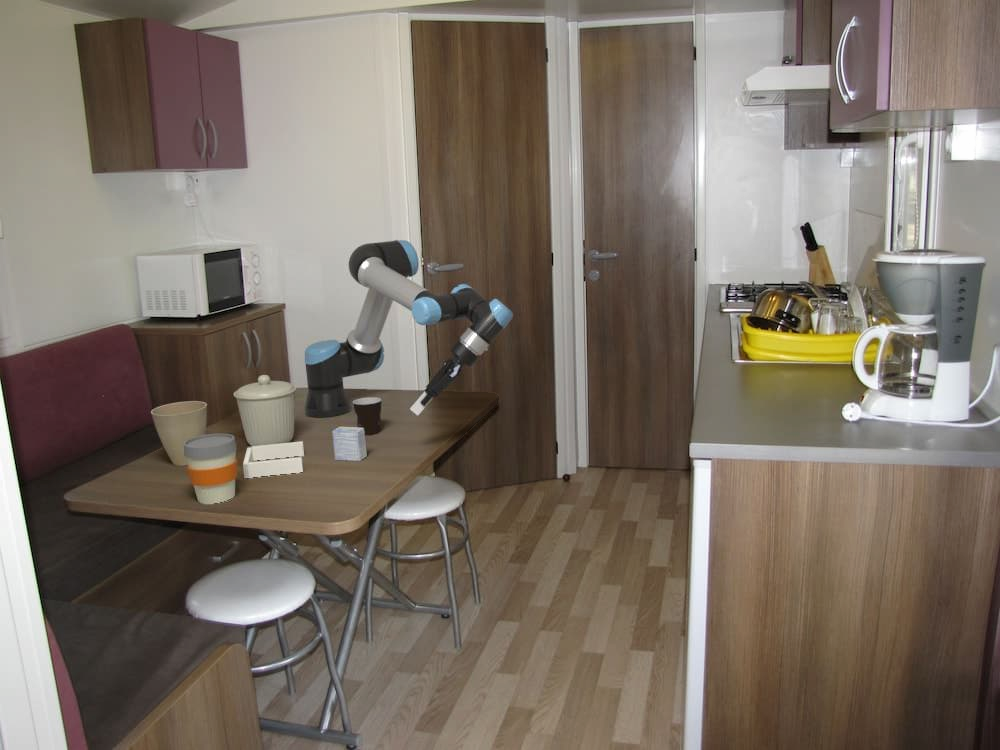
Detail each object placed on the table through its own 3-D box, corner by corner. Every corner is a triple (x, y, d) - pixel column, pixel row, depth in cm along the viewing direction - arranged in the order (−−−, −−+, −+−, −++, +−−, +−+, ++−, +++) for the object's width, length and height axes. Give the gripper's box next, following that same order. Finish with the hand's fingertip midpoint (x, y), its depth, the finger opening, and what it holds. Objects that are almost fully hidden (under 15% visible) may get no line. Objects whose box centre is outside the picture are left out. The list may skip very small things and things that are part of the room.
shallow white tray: (249, 460, 257) (247, 446, 256) (304, 454, 259) (302, 441, 258) (244, 478, 241) (242, 464, 240) (302, 472, 244) (301, 458, 243)
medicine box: (367, 457, 254) (364, 427, 253) (359, 462, 250) (357, 431, 248) (342, 455, 257) (339, 426, 255) (334, 460, 253) (331, 430, 251)
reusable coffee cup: (179, 504, 224) (171, 446, 221) (212, 487, 236) (205, 431, 232) (221, 509, 220) (213, 449, 216) (252, 491, 231) (246, 434, 228)
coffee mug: (378, 436, 273) (375, 404, 271) (351, 436, 275) (348, 404, 273) (390, 425, 285) (388, 394, 282) (364, 425, 286) (361, 394, 284)
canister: (313, 441, 272) (307, 372, 267) (261, 456, 259) (253, 385, 255) (279, 431, 284) (272, 365, 280) (228, 446, 272) (219, 377, 267)
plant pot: (194, 450, 268) (187, 398, 265) (224, 459, 259) (217, 404, 256) (148, 464, 257) (140, 410, 254) (177, 473, 248) (169, 417, 244)
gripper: (483, 361, 248) (426, 426, 248) (475, 352, 260) (421, 414, 261) (462, 343, 246) (405, 409, 246) (455, 335, 258) (401, 398, 259)
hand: (413, 412), depth 254 cm, fingers closed
